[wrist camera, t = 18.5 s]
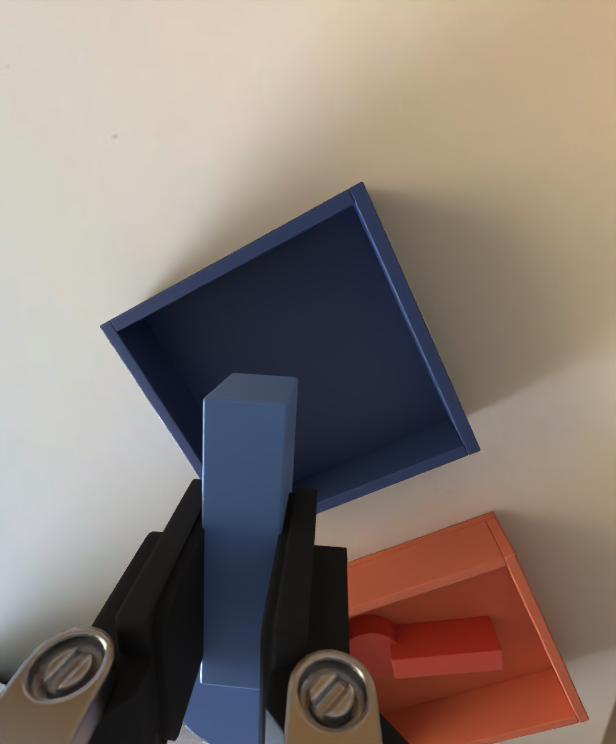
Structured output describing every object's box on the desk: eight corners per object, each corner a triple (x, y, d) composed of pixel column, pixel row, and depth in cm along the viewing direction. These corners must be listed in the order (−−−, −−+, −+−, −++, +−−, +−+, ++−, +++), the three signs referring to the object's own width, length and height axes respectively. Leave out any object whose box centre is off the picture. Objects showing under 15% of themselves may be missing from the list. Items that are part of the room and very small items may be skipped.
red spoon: (487, 601, 27) (500, 636, 25) (492, 646, 28) (505, 683, 26) (337, 617, 28) (336, 651, 26) (347, 659, 30) (348, 696, 27)
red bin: (492, 511, 26) (515, 553, 22) (561, 664, 29) (589, 720, 26) (294, 581, 28) (288, 628, 25) (378, 713, 32) (383, 770, 28)
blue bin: (359, 187, 20) (362, 180, 17) (461, 419, 24) (481, 450, 21) (133, 311, 23) (98, 326, 20) (254, 503, 27) (241, 543, 23)
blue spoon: (186, 369, 10) (144, 394, 8) (344, 380, 10) (348, 408, 8) (186, 695, 12) (151, 792, 10) (319, 709, 12) (315, 810, 10)
